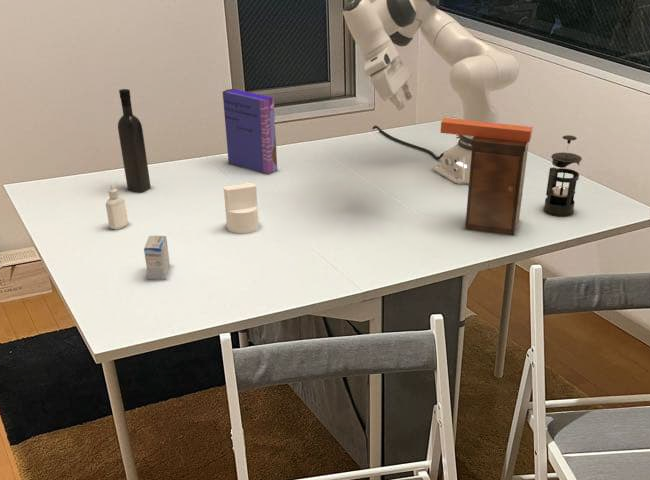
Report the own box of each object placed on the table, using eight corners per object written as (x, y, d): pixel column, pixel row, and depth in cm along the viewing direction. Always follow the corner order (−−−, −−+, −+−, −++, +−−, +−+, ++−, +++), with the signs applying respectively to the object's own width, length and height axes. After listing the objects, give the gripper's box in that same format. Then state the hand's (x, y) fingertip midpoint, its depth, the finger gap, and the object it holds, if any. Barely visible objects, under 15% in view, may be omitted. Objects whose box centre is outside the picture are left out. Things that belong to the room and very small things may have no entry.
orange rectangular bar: (440, 132, 230) (441, 122, 229) (443, 128, 234) (444, 117, 232) (529, 142, 226) (530, 131, 224) (531, 137, 229) (532, 126, 228)
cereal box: (277, 170, 277) (273, 97, 263) (268, 174, 273) (263, 100, 260) (238, 160, 284) (232, 88, 270) (228, 163, 281) (222, 90, 267)
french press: (581, 215, 252) (593, 140, 239) (555, 219, 249) (567, 143, 236) (559, 202, 261) (570, 128, 248) (534, 205, 258) (544, 131, 245)
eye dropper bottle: (131, 227, 234) (124, 186, 227) (111, 230, 231) (104, 189, 225) (126, 221, 237) (119, 181, 230) (107, 225, 234) (99, 184, 228)
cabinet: (463, 230, 240) (470, 141, 225) (471, 214, 250) (478, 128, 235) (514, 237, 237) (525, 147, 222) (520, 220, 247) (530, 133, 232)
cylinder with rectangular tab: (232, 235, 232) (229, 194, 225) (223, 223, 238) (219, 183, 231) (263, 230, 235) (260, 189, 228) (252, 219, 242) (249, 179, 235)
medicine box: (153, 266, 214) (148, 235, 209) (170, 266, 214) (166, 235, 209) (148, 280, 207) (143, 248, 202) (166, 279, 208) (161, 248, 203)
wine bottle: (126, 190, 257) (110, 91, 240) (137, 184, 262) (122, 86, 245) (141, 193, 256) (126, 93, 239) (152, 187, 260) (138, 89, 243)
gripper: (382, 53, 236) (405, 97, 241) (361, 72, 220) (387, 120, 226) (401, 42, 233) (424, 88, 238) (381, 62, 217) (406, 110, 223)
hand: (405, 103), depth 232 cm, fingers open, 8 cm apart
